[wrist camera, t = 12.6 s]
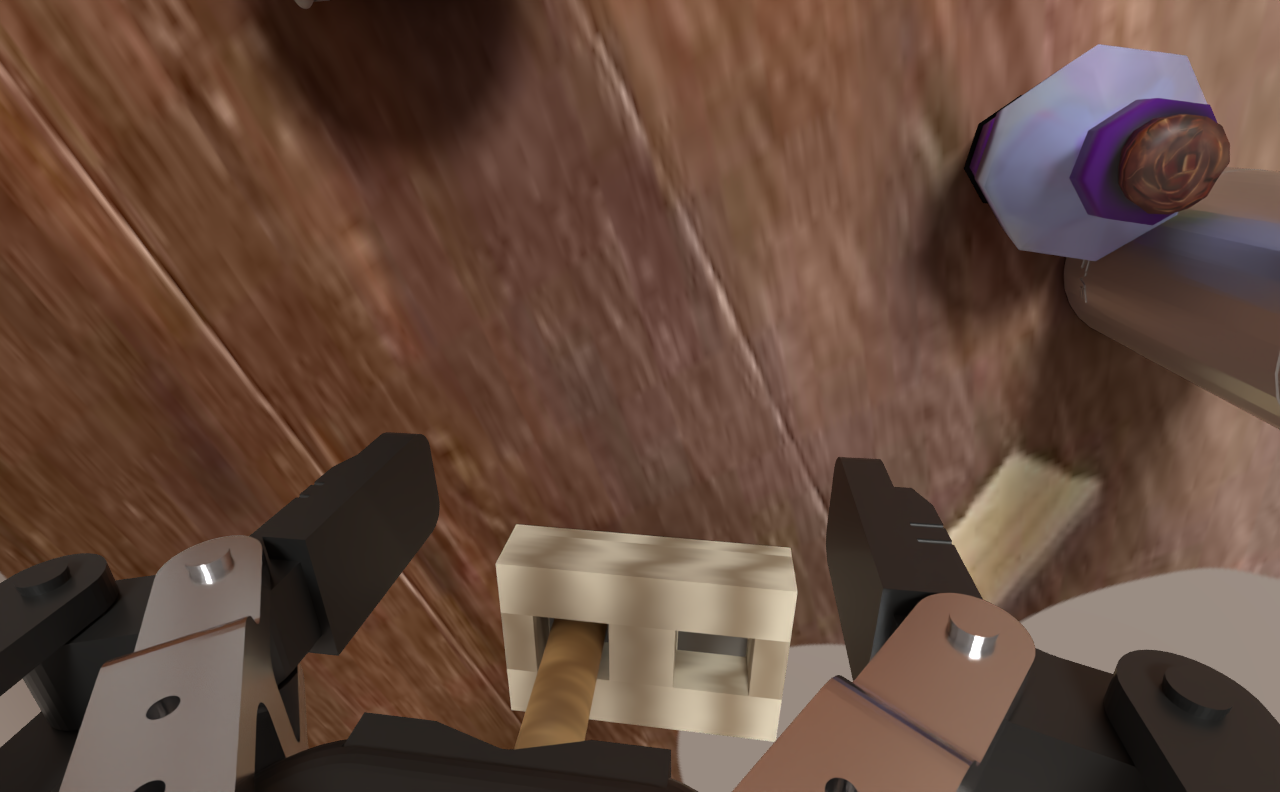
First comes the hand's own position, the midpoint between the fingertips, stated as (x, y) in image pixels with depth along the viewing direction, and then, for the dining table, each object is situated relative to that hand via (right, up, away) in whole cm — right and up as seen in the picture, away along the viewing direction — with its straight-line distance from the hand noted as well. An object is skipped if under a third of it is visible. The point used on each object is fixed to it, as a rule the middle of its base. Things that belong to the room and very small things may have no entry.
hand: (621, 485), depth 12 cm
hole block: (+1, -15, +35) cm, 38 cm away
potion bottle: (+20, +14, +20) cm, 32 cm away
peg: (-4, -15, +34) cm, 38 cm away
